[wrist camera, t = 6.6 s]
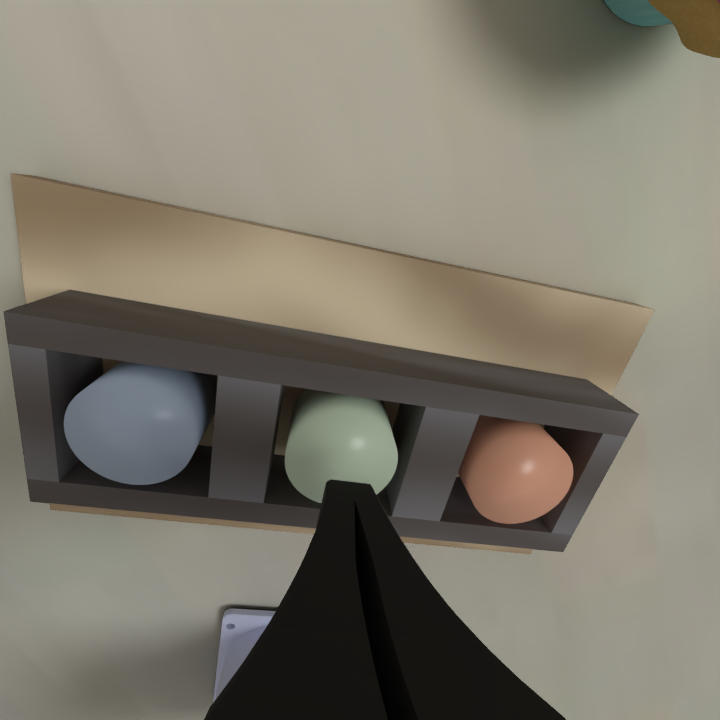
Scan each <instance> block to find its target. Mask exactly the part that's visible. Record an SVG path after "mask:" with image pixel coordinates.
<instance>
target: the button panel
mask: <svg viewBox="0 0 720 720" xmlns="http://www.w3.org/2000/svg"><path fill="white" fill-rule="evenodd" d="M11 179H12V188H13V196H14V205H15V213H16V222H17V230H18V239H19V247H20V256H21V265H22V273H23V282H24V290H25V299H26V304H25V305H22V306H19V307H16V308H13V309H10V310H7V311H4V318H5V326H6V333H7V340H8V347H9V354H10V361H11V368H12V375H13V382H14V390H15V397H16V404H17V411H18V418H19V425H20V432H21V439H22V446H23V454H24V461H25V468H26V475H27V482H28V489H29V496H30V501H31V502H41V503H49V504H50V510H60V511H70V512H81V513H92V514H103V515H114V516H124V517H135V518H146V519H157V520H168V521H178V522H189V523H200V524H211V525H221V526H232V527H243V528H254V529H265V530H275V531H286V532H297V533H308V534H314V533H315V531H316V526H317V521H318V517H319V512H320V508H321V503H318V502H316V501H313V500H311V499H309V498H307V497H306V496H304V495H303V494H301V493H300V492H299V491H298V490H297V489H296V488H295V487H294V486H293V484H292V483H291V481H290V480H289V478H288V475H287V473H286V469H285V453H286V447H287V441H288V435H289V429H290V423H291V418H292V412H293V407H294V404H295V402H296V400H297V398H298V396H299V395H300V394H301V392H302V391H303V390H304V389H311V390H318V391H324V392H331V393H338V394H344V395H351V396H358V397H364V398H371V399H378V400H383V402H384V405H385V408H386V412H387V415H388V419H389V422H390V426H391V430H392V433H393V437H394V440H395V444H396V447H397V452H398V463H397V467H396V471H395V473H394V475H393V477H392V479H391V480H390V482H389V483H388V484H387V486H386V487H385V488H384V489H383V490H382V491H380V492H379V493H378V494H376V495H377V497H378V499H379V501H380V503H381V505H382V507H383V509H384V511H385V512H386V514H387V516H388V518H389V520H390V521H391V523H392V525H393V527H394V528H395V530H396V532H397V533H398V535H399V537H400V538H401V540H402V542H405V543H416V544H427V545H437V546H448V547H459V548H470V549H481V550H491V551H502V552H513V553H524V554H531V552H532V550H533V549H537V550H547V551H558V552H563V551H564V549H565V548H566V546H567V544H568V542H569V540H570V538H571V537H572V535H573V533H574V531H575V529H576V528H577V526H578V524H579V522H580V520H581V519H582V517H583V515H584V513H585V511H586V509H587V508H588V506H589V504H590V502H591V500H592V499H593V497H594V495H595V493H596V491H597V489H598V488H599V486H600V484H601V482H602V480H603V479H604V477H605V475H606V473H607V471H608V469H609V468H610V466H611V464H612V462H613V460H614V459H615V457H616V455H617V453H618V451H619V449H620V448H621V446H622V444H623V442H624V440H625V439H626V437H627V435H628V433H629V431H630V430H631V428H632V426H633V424H634V422H635V420H636V419H637V417H638V415H639V414H638V413H636V412H635V411H633V410H632V409H630V408H629V407H627V406H626V405H624V404H623V403H621V402H620V401H618V400H617V399H615V398H614V397H613V396H611V395H612V393H613V391H614V389H615V387H616V385H617V383H618V381H619V379H620V377H621V376H622V374H623V372H624V370H625V368H626V366H627V364H628V362H629V360H630V358H631V356H632V354H633V352H634V350H635V348H636V346H637V344H638V342H639V340H640V338H641V336H642V334H643V332H644V330H645V328H646V326H647V324H648V322H649V321H650V319H651V317H652V315H653V313H654V311H655V310H654V309H651V308H648V307H644V306H641V305H638V304H634V303H630V302H625V301H620V300H616V299H611V298H606V297H601V296H597V295H592V294H587V293H583V292H578V291H573V290H569V289H564V288H559V287H554V286H550V285H545V284H540V283H536V282H531V281H526V280H521V279H517V278H512V277H507V276H503V275H498V274H493V273H489V272H484V271H479V270H474V269H470V268H465V267H460V266H456V265H451V264H446V263H442V262H437V261H432V260H427V259H423V258H418V257H413V256H409V255H404V254H399V253H394V252H390V251H385V250H380V249H376V248H371V247H366V246H362V245H357V244H352V243H347V242H343V241H338V240H333V239H329V238H324V237H319V236H314V235H310V234H305V233H300V232H296V231H291V230H286V229H282V228H277V227H272V226H267V225H263V224H258V223H253V222H249V221H244V220H239V219H235V218H230V217H225V216H220V215H216V214H211V213H206V212H202V211H197V210H192V209H187V208H183V207H178V206H173V205H169V204H164V203H159V202H155V201H150V200H145V199H140V198H136V197H131V196H126V195H122V194H117V193H112V192H107V191H103V190H98V189H93V188H89V187H84V186H79V185H75V184H70V183H65V182H60V181H56V180H51V179H46V178H42V177H37V176H31V175H20V174H11ZM120 361H125V362H132V363H138V364H145V365H152V366H158V367H165V368H172V369H178V370H185V371H192V372H198V373H205V374H211V375H212V376H213V377H214V380H215V382H216V384H217V393H216V406H215V415H214V417H213V418H212V420H211V422H210V424H209V426H208V428H207V430H206V431H205V433H204V435H203V437H202V439H201V441H200V443H199V444H198V446H197V448H196V450H195V452H194V454H193V456H192V457H191V459H190V461H189V463H188V464H187V465H186V467H185V468H184V469H183V470H182V471H181V472H179V473H178V474H177V475H175V476H174V477H172V478H170V479H168V480H165V481H163V482H159V483H155V484H149V485H131V484H125V483H120V482H116V481H113V480H111V479H108V478H106V477H103V476H101V475H99V474H98V473H96V472H94V471H93V470H91V469H90V468H88V467H87V466H86V465H85V464H84V463H82V462H81V461H80V460H79V458H78V457H77V456H76V455H75V454H74V452H73V451H72V449H71V448H70V446H69V444H68V442H67V439H66V436H65V432H64V416H65V412H66V410H67V407H68V405H69V404H70V402H71V401H72V400H73V398H74V397H75V396H76V395H77V394H79V393H80V392H81V391H82V390H84V389H85V388H86V387H87V386H89V385H90V384H91V383H93V382H94V381H95V380H97V379H98V378H99V377H101V376H102V375H103V374H105V373H106V372H107V371H109V370H110V369H111V368H113V367H114V366H115V365H116V364H118V363H119V362H120ZM479 415H484V416H490V417H497V418H504V419H510V420H517V421H524V422H530V423H537V424H539V425H540V426H541V427H542V428H543V429H544V430H545V431H546V432H547V433H548V434H549V435H550V436H551V437H552V438H553V439H554V440H555V441H556V442H557V443H558V445H559V446H560V447H561V448H562V449H563V450H564V451H565V452H566V453H567V454H568V456H569V457H570V459H571V462H572V465H573V480H572V483H571V486H570V488H569V490H568V492H567V494H566V495H565V497H564V498H563V499H562V500H561V501H560V502H559V504H558V505H556V506H555V507H554V508H553V509H552V510H550V511H549V512H547V513H546V514H544V515H542V516H540V517H538V518H536V519H533V520H530V521H527V522H523V523H516V524H504V523H498V522H495V521H492V520H489V519H487V518H486V517H484V516H483V515H481V514H480V513H479V512H478V511H477V509H476V508H475V506H474V504H473V502H472V500H471V498H470V496H469V494H468V492H467V490H466V488H465V486H464V484H463V482H462V480H461V478H460V476H459V474H458V471H459V468H460V466H461V463H462V460H463V458H464V455H465V452H466V450H467V447H468V444H469V442H470V439H471V436H472V434H473V431H474V428H475V426H476V423H477V420H478V418H479Z"/></svg>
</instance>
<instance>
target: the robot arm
mask: <svg viewBox="0 0 720 720" xmlns="http://www.w3.org/2000/svg"><path fill="white" fill-rule="evenodd" d="M204 720H566V719H565V718H564V717H563V716H562V715H561V714H560V713H558V712H557V711H556V710H555V709H554V708H553V707H551V706H550V705H549V704H548V703H547V702H546V701H544V700H543V699H542V698H541V697H540V696H539V695H538V694H536V693H535V692H534V691H533V690H532V689H531V688H529V687H528V686H527V685H526V684H525V683H524V682H522V681H521V680H520V679H519V678H518V677H517V676H516V675H515V674H514V673H513V672H512V671H511V670H510V669H509V668H507V667H506V666H505V665H504V664H503V663H502V662H501V661H500V660H499V659H498V658H497V657H496V656H495V655H494V654H493V653H492V652H491V651H490V650H489V649H488V648H487V647H486V646H485V645H484V644H483V643H482V642H481V641H480V640H479V639H478V638H477V637H476V635H475V634H474V633H473V632H472V631H471V630H470V629H469V628H468V627H467V626H466V625H465V624H464V623H463V621H462V620H461V619H460V618H459V617H458V616H457V615H456V614H455V613H454V611H453V610H452V609H451V608H450V607H449V606H448V604H447V603H446V602H445V601H444V599H443V598H442V597H441V596H440V594H439V593H438V592H437V591H436V589H435V588H434V587H433V585H432V584H431V583H430V581H429V580H428V579H427V577H426V576H425V575H424V573H423V572H422V570H421V569H420V567H419V566H418V565H417V563H416V562H415V560H414V559H413V557H412V556H411V554H410V553H409V551H408V549H407V548H406V546H405V545H404V543H403V542H402V540H401V538H400V537H399V535H398V533H397V532H396V530H395V528H394V527H393V525H392V523H391V521H390V520H389V518H388V516H387V514H386V512H385V511H384V509H383V507H382V505H381V503H380V501H379V499H378V497H377V495H376V493H375V491H374V489H373V487H372V486H371V485H370V484H367V483H358V482H349V481H341V480H332V479H330V480H329V481H327V482H326V485H325V489H324V494H323V499H322V503H321V508H320V512H319V517H318V521H317V526H316V531H315V533H314V536H313V538H312V541H311V543H310V545H309V548H308V550H307V552H306V555H305V557H304V559H303V561H302V563H301V566H300V568H299V570H298V572H297V574H296V576H295V578H294V580H293V581H292V583H291V585H290V587H289V589H288V591H287V593H286V594H285V596H284V598H283V600H282V601H281V603H280V605H279V607H278V608H277V610H276V611H267V610H250V609H234V608H233V609H228V610H226V611H225V612H224V615H223V618H222V626H221V635H220V644H219V653H218V662H217V671H216V680H215V688H214V697H213V704H212V705H211V707H210V709H209V711H208V713H207V715H206V717H205V719H204Z"/></svg>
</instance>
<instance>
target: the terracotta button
mask: <svg viewBox="0 0 720 720" xmlns="http://www.w3.org/2000/svg"><path fill="white" fill-rule="evenodd" d="M458 474H459V476H460V478H461V480H462V482H463V484H464V486H465V488H466V490H467V492H468V494H469V496H470V498H471V500H472V502H473V504H474V506H475V508H476V509H477V511H478V512H479V513H480V514H481V515H483V516H484V517H486V518H487V519H489V520H492V521H495V522H498V523H504V524H516V523H523V522H527V521H530V520H533V519H536V518H538V517H540V516H542V515H544V514H546V513H547V512H549V511H550V510H552V509H553V508H554V507H555V506H556V505H558V504H559V502H560V501H561V500H562V499H563V498H564V497H565V495H566V494H567V492H568V490H569V488H570V486H571V483H572V480H573V465H572V462H571V459H570V457H569V456H568V454H567V453H566V452H565V451H564V450H563V449H562V448H561V447H560V446H559V445H558V443H557V442H556V441H555V440H554V439H553V438H552V437H551V436H550V435H549V434H548V433H547V432H546V431H545V430H544V429H543V428H542V427H541V426H540V425H539V424H537V423H530V422H524V421H517V420H510V419H504V418H497V417H490V416H484V415H479V418H478V420H477V423H476V426H475V428H474V431H473V434H472V436H471V439H470V442H469V444H468V447H467V450H466V452H465V455H464V458H463V460H462V463H461V466H460V468H459V471H458Z"/></svg>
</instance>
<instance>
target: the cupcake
mask: <svg viewBox="0 0 720 720" xmlns="http://www.w3.org/2000/svg"><path fill="white" fill-rule="evenodd" d="M604 2H605V3H606V4H607V6H608V7H609V8H610V10H611V11H612V12H613V13H614V14H616V15H617V16H618V17H619V18H621V19H622V20H624V21H626V22H628V23H631V24H634V25H639V26H658V25H664V24H674V26H675V27H676V29H677V31H678V34H679V37H680V39H681V41H682V43H683V45H684V46H685V47H686V48H687V49H689V50H691V51H694V52H697V53H701V54H704V55H708V56H711V57H716V58H720V0H604Z"/></svg>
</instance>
